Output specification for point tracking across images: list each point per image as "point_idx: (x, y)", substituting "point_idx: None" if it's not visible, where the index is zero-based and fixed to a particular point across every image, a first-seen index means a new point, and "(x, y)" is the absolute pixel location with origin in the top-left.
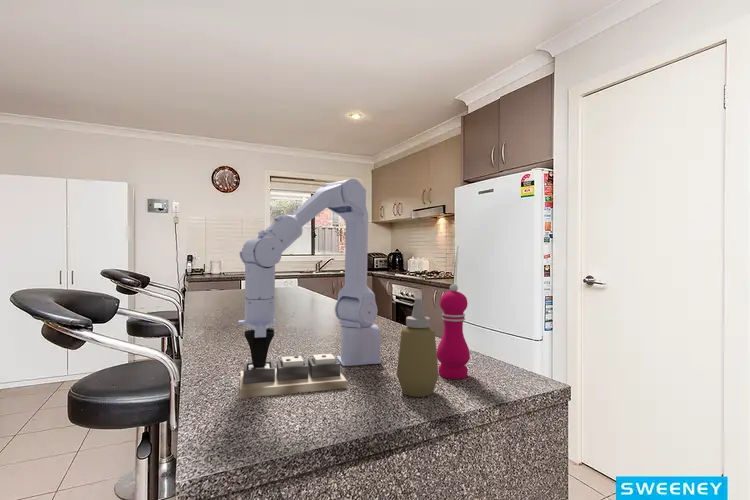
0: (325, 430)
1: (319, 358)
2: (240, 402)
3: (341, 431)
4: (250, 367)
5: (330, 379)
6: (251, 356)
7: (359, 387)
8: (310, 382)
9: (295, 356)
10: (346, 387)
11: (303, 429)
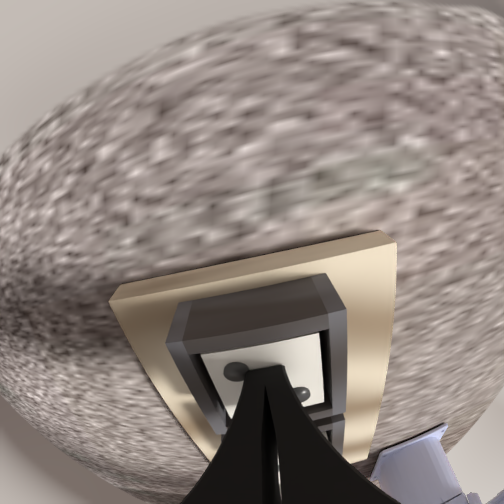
0: (43, 421)
1: None
2: (89, 294)
3: (51, 432)
4: (261, 353)
5: None
6: (232, 418)
7: None
8: (212, 452)
9: None
10: None
11: (32, 401)
